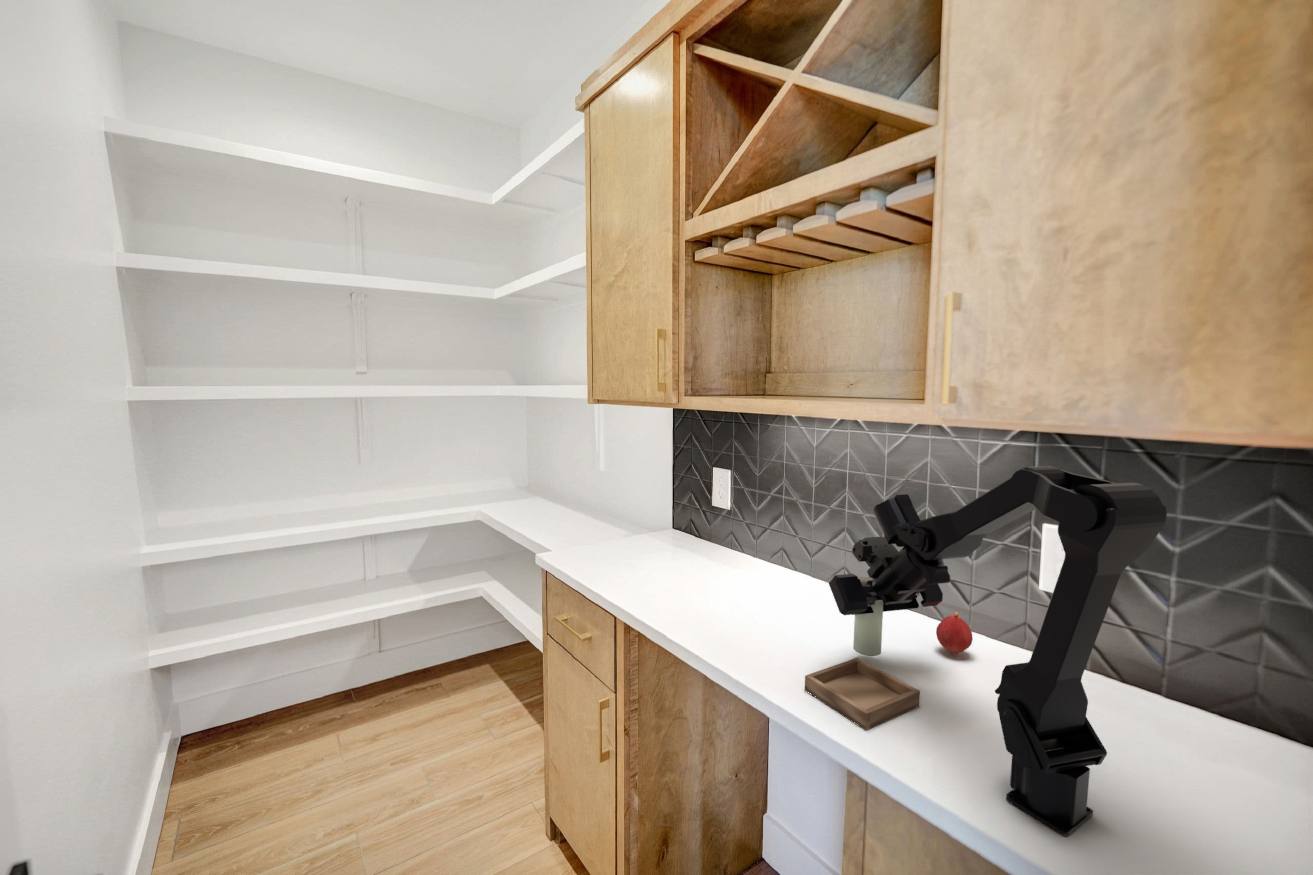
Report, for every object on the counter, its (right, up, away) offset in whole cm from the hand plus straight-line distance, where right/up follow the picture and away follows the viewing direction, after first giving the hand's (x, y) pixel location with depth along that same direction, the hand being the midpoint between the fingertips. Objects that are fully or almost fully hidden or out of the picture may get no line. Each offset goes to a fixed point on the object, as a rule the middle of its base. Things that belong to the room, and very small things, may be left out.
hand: (863, 610), depth 100 cm
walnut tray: (-5, -10, -12) cm, 17 cm away
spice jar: (0, -7, -1) cm, 7 cm away
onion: (+17, -9, +2) cm, 19 cm away
